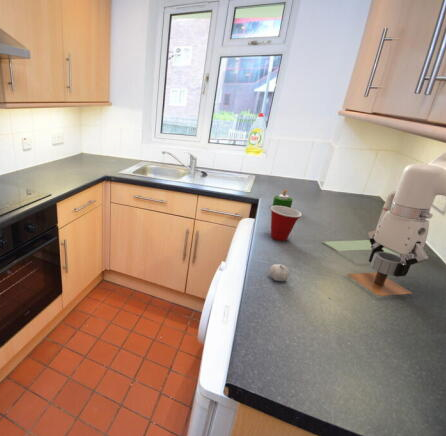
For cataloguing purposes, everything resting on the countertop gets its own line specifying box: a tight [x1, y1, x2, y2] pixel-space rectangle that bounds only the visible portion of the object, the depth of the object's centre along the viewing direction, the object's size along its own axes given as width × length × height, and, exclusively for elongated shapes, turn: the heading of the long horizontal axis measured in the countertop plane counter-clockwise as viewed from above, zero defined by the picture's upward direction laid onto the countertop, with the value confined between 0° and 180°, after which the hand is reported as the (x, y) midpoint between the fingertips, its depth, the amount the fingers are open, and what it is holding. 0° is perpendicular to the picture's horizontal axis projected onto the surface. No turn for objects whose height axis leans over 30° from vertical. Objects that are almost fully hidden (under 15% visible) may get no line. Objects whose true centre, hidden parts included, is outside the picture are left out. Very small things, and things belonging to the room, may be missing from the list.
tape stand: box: [346, 271, 414, 297], centre depth 87 cm, size 11×11×4 cm
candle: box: [271, 189, 294, 208], centre depth 148 cm, size 8×8×10 cm
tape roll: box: [369, 251, 401, 277], centre depth 85 cm, size 7×7×4 cm
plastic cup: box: [270, 205, 303, 242], centre depth 115 cm, size 11×11×12 cm
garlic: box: [269, 263, 291, 282], centre depth 89 cm, size 6×5×5 cm
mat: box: [322, 239, 408, 260], centre depth 108 cm, size 20×16×1 cm
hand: (386, 268), depth 86 cm, fingers closed on tape roll, 7 cm apart
